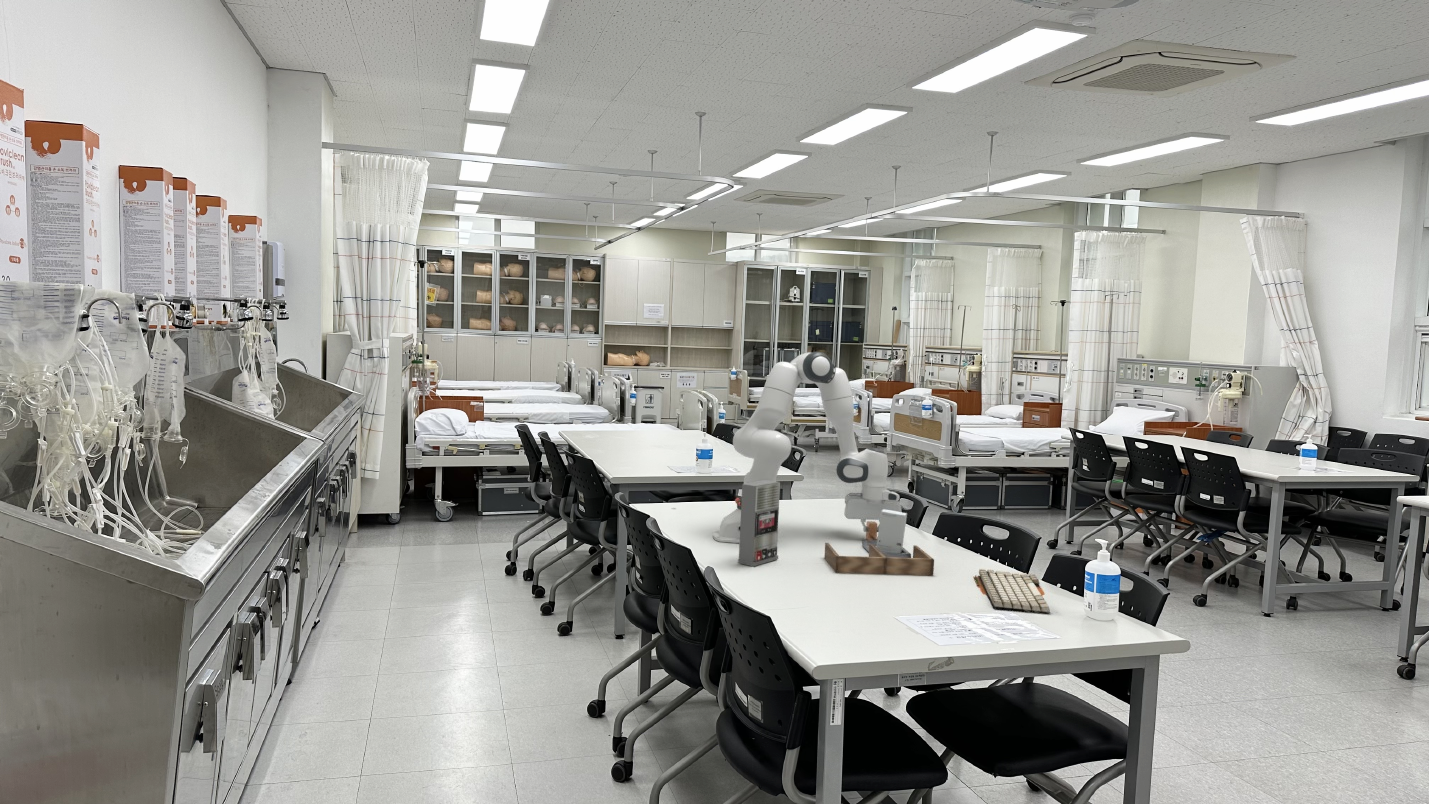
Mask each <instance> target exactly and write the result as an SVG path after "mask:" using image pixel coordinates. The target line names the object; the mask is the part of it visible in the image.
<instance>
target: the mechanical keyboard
mask: <svg viewBox="0 0 1429 804" xmlns="http://www.w3.org/2000/svg"><path fill="white" fill-rule="evenodd" d="M972 578H973V581H974V582H975V585H976V587H977V588H978V589H979V590H980V592H981V593H982V595H985V596H986V597H987V599H988V601H989V603H990V605H991V607H992V609H993V610H997V611H1005V612H1016V613H1026V614H1027V613H1028V614H1029V613H1031V614H1032V613H1036V614H1049V613H1051V611H1050V606H1049V605H1048V603H1047V602H1046V600H1045V599H1044V597H1043V596H1044V595H1045V594H1046V593H1045V591H1044V590H1043V589H1042V587H1041V585H1040V581H1039V580H1040V579H1039V578H1038V576H1037V575H1036V574H1035V573H1031V574H1030V573H1029V574H1027V572H1024V573H1020V574H1019V572H1012V573H1011V572H1009V571H1001V570H996V571H995V570H993V569H987V570H986V569H985V568H979V569H978V575H977V574H976V575H975V576H972Z"/></svg>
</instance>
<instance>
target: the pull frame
mask: <svg viewBox="0 0 1429 804" xmlns="http://www.w3.org/2000/svg"><path fill="white" fill-rule="evenodd" d="M865 525H866V526H868V532H865V539H862V541H861V546H862V547H863V548H864V549H865V550H866V551H867V552H868V553H869V544H873V545H874V546H875V547H876V546H877V539H878V532H877V527H878V523H877V522H876V521H875V520H873V521H872V520H866V524H865ZM881 553H882V554H883V555H885V556H886V557H893V558H912V554H911V552H909V551H908V550H907V549H906V548H905V547H902V553H885V552H881Z"/></svg>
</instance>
